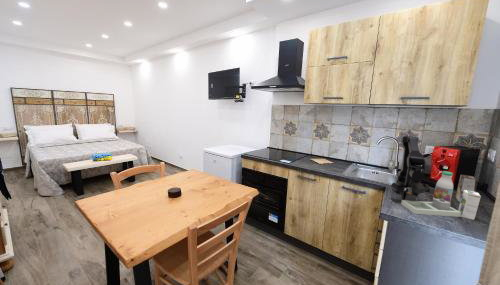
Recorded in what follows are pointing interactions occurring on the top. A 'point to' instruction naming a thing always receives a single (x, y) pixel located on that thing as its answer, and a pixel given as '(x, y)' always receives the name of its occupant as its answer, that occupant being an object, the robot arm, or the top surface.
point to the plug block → (410, 196)
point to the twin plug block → (441, 204)
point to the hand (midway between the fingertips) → (407, 200)
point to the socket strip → (428, 209)
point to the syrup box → (469, 204)
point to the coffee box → (466, 185)
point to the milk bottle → (444, 187)
